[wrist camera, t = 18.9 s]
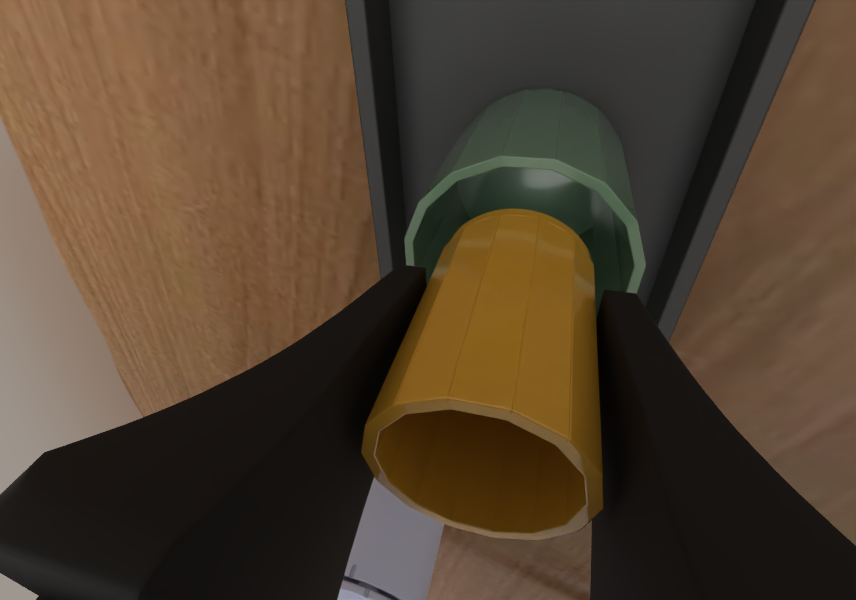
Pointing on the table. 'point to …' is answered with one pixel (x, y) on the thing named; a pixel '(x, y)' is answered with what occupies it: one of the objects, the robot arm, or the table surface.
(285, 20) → the table surface
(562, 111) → the green cup
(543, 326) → the mustard cup
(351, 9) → the tray
